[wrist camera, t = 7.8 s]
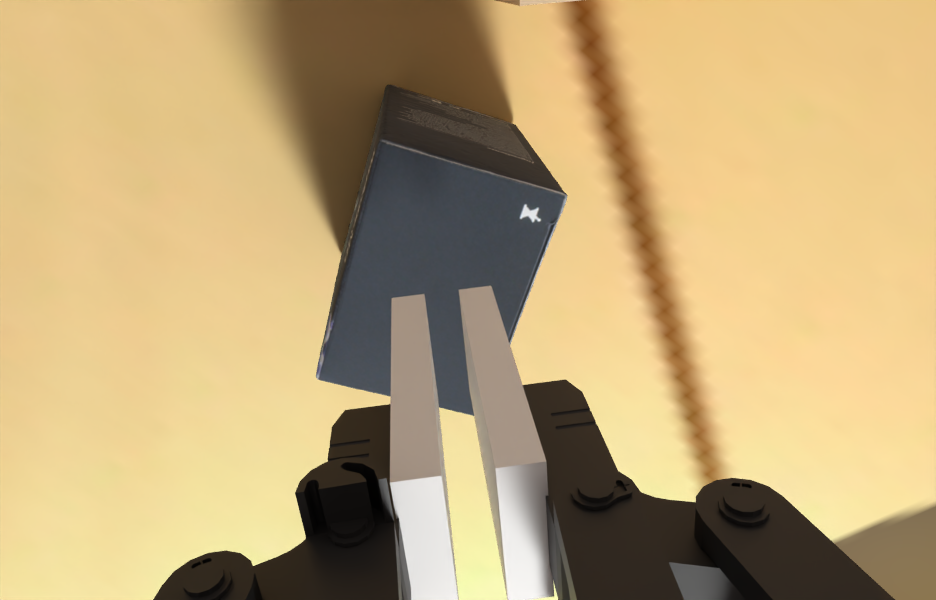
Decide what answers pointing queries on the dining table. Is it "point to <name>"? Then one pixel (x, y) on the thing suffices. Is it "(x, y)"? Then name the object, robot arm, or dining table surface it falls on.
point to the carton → (532, 1)
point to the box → (436, 238)
